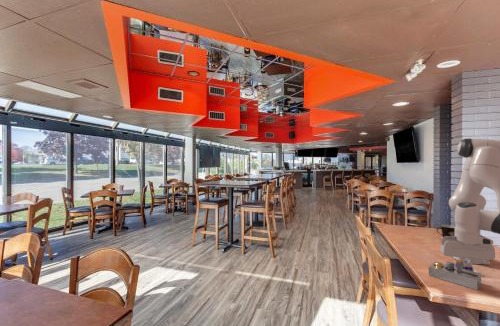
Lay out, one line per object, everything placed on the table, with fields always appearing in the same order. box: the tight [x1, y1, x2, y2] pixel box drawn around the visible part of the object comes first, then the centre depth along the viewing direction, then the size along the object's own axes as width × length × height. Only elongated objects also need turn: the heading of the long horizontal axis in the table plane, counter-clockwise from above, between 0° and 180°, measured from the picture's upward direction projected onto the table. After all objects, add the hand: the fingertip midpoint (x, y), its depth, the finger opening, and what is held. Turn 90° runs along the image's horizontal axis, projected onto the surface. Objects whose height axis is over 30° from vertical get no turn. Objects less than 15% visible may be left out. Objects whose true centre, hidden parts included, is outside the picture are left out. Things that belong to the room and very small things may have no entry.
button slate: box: [445, 261, 455, 271], centre depth 119 cm, size 3×3×4 cm
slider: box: [456, 259, 462, 272], centre depth 117 cm, size 3×1×5 cm, turn 129°
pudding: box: [454, 260, 480, 273], centre depth 127 cm, size 12×12×5 cm
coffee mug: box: [436, 224, 455, 237], centre depth 180 cm, size 12×9×10 cm
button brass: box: [434, 261, 444, 268], centre depth 123 cm, size 3×3×4 cm
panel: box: [428, 261, 482, 291], centre depth 118 cm, size 10×18×5 cm, turn 39°
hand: (466, 266), depth 115 cm, fingers closed
